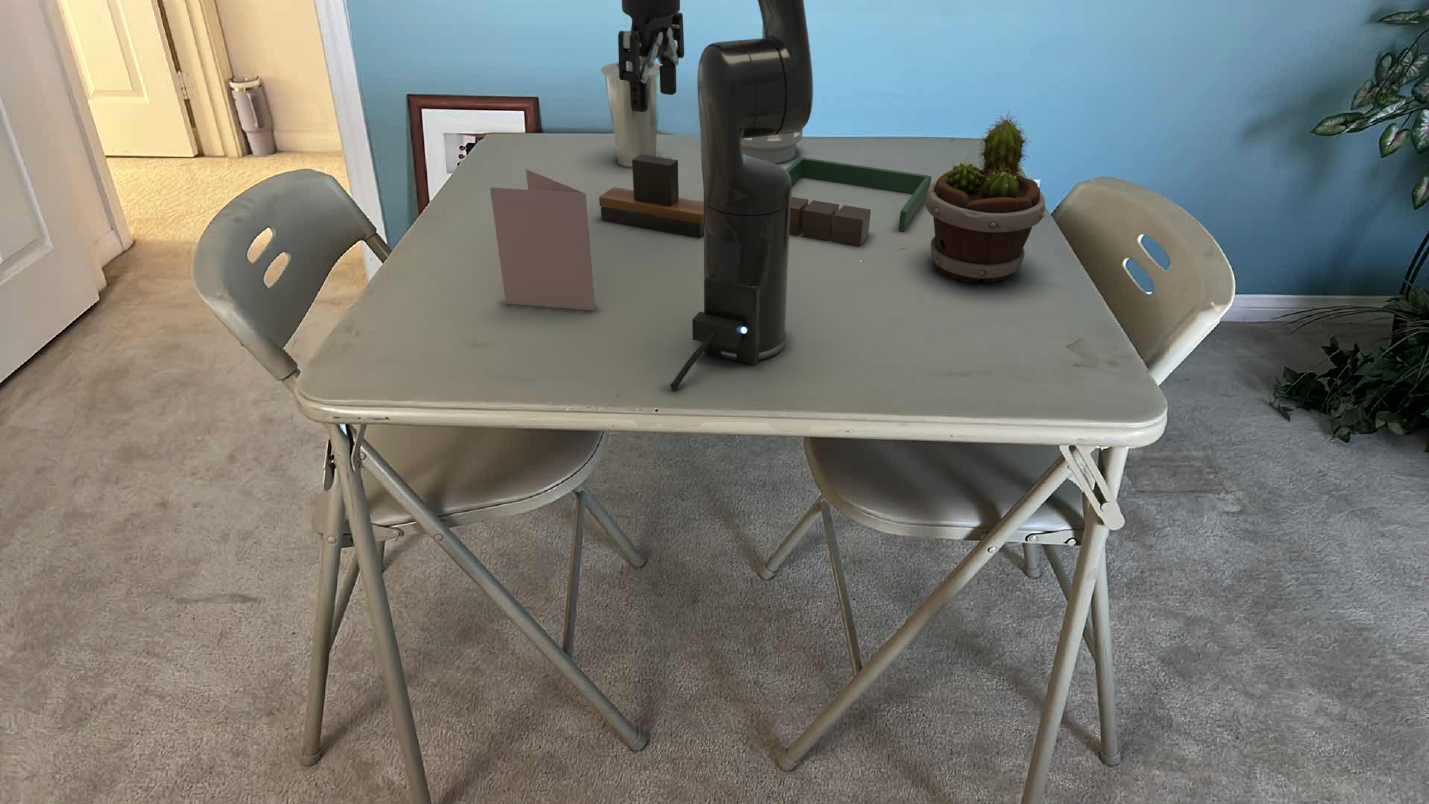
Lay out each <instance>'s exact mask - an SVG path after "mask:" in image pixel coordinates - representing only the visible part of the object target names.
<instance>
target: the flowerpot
mask: <svg viewBox="0 0 1429 804" xmlns="http://www.w3.org/2000/svg"><path fill="white" fill-rule="evenodd" d="M1009 114H1010V109H1009V110H1008V112H1007V114H1006V118H1004V117H1003V116H1002V115H998V116H999V117H997V119H999V120H996V121H995V124H989V126H990V127H986V129H987V130H988V131H984V133H981V134H982V135H980V137H981V138H980V137H979V136H978V139H980V144H979V145H980V147H981V149H979V151H980V153H977V156H978V155H979V156H978V159H981V161H979V164H980V165H978V167H977V166H974V165H973V163H974V161H975V160H973V161H972V162H971V163H968V156H966V159H964V162H960V163H959V165H955V164H954V162H955V160H953V161H952V165H951V167H952V168H951V170H949V171H947V172H945V173H943V174H942V175H941V176H940V177H939V178H937V180H935V181H934V182H931V184H930V186H929V188H928V191H927V195H926V200H925V207H926V210H927V212H928V213H929V214H930V215H931V216H932V218H933V226H934V236H933V237H932V239H931V240H930V254H931V259H932V261H933V262H934V263H935V265H936V268H937V270H938V271H939V272H940V273H941V274H943V275H944V276H946V277H947V278H949V279H953V280H960V281H962V282H964V283H975V282H979V281H981V280H982V281H983V282H984V283H985V284H994V283H996V282H1003V281H1005V280H1007V279H1008V278H1009V277H1011V276H1012V275H1013V274H1014V273H1015V272H1017V271H1018V269H1020V268H1021V267H1022V265H1023V264H1022V263H1023V261H1024V258H1025V255H1026V254H1025V249H1024V247H1025V245H1026V243H1027V240H1028V239H1029V236H1030V234H1031V231H1032V229H1033V227H1034V226H1036V225H1038V224H1039V223H1040V222H1041V221H1042V219H1043V218H1045V210H1046V199H1045V196H1044V195H1043V193H1042V192H1041V188H1040V187H1039V184H1038V183H1037V182H1036V181H1035V179H1031V178H1026V177H1024V176H1023V175H1022V174H1021V173H1024V174H1025V172H1024V171H1022V170H1023V167H1025V164H1023V161H1026V158H1029V156H1027V155H1026V154H1025V153H1026V148H1025V146H1026V147H1028V148H1029V145H1028V143H1027V142H1029V143H1031V141H1030V140H1028V138H1025V135H1027V133H1026V132H1023V131H1025V129H1023V128H1024V127H1020V126H1021V123H1017V122H1018V121H1019V119H1017V120H1015V121H1013V120H1012V119H1014V118H1015V117H1017V116H1018V115H1014V116H1012V115H1009ZM991 126H993V127H991ZM1018 126H1019V127H1018ZM985 134H986V135H985ZM981 140H982V141H981ZM1025 157H1026V158H1025Z"/></svg>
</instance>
